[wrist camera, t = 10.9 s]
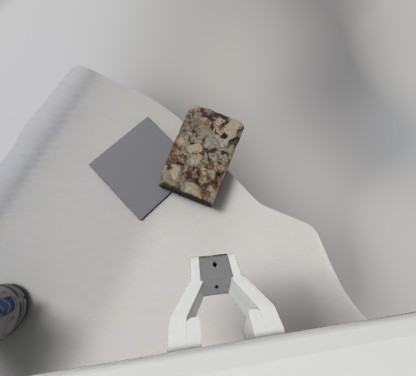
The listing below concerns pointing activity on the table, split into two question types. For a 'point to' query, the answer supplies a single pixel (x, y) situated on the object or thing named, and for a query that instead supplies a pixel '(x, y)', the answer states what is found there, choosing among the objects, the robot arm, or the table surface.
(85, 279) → the table surface
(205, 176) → the stone block
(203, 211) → the table surface
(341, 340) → the robot arm
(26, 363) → the table surface
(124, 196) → the mat
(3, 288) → the grey blue tall cylinder
